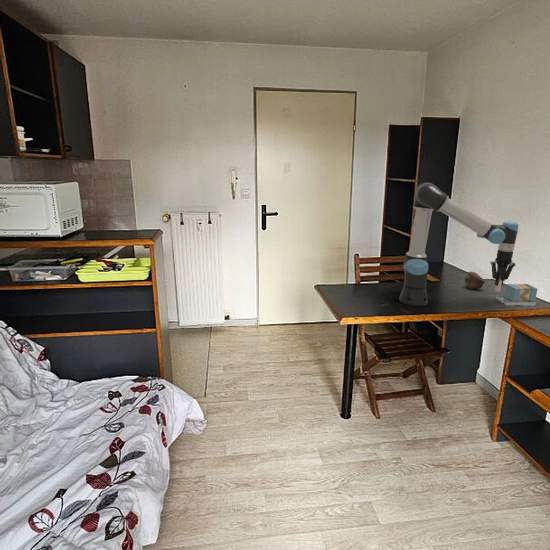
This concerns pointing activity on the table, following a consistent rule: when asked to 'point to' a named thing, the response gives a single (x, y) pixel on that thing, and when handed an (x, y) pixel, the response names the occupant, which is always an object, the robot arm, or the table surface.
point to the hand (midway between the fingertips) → (497, 291)
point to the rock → (474, 281)
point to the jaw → (512, 292)
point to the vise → (530, 302)
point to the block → (523, 292)
